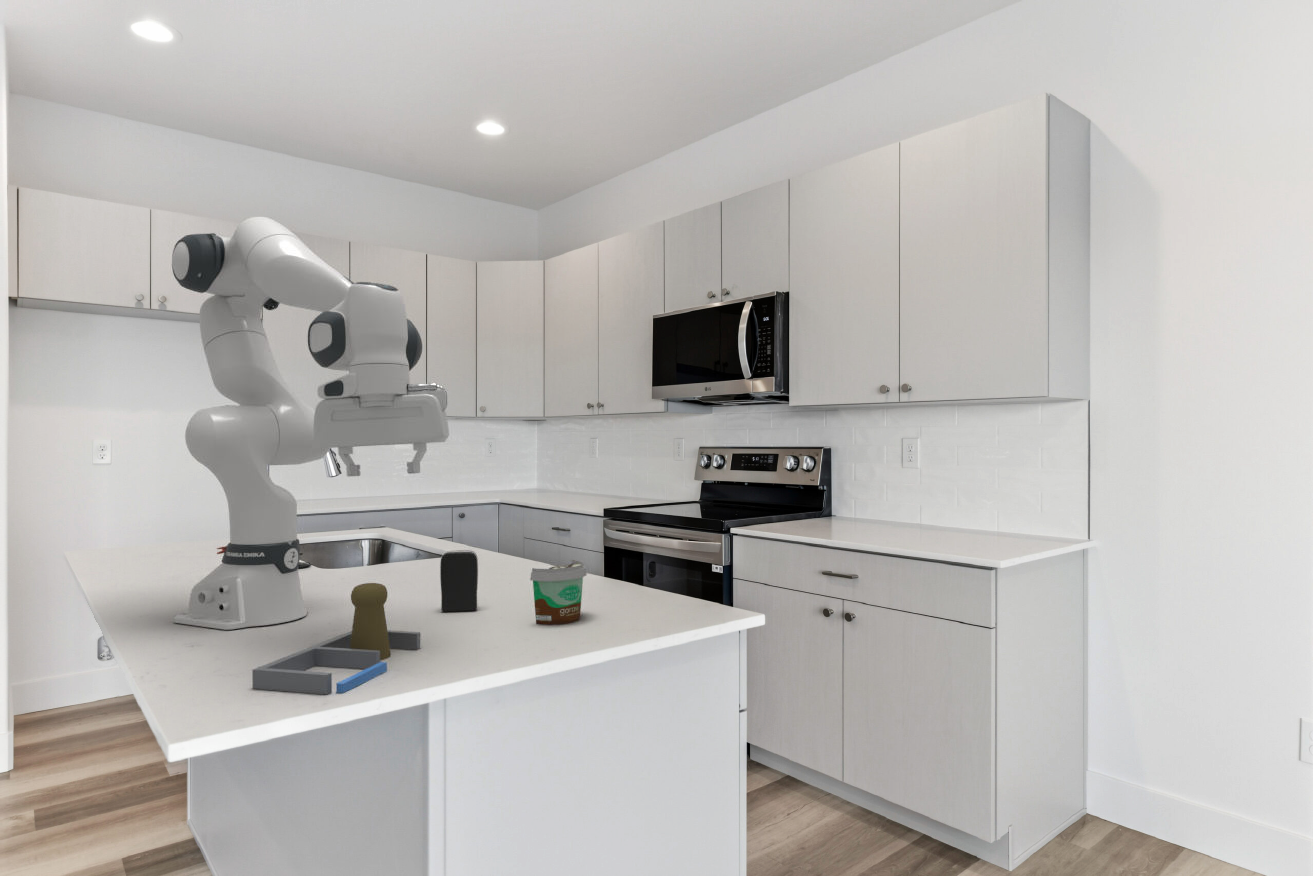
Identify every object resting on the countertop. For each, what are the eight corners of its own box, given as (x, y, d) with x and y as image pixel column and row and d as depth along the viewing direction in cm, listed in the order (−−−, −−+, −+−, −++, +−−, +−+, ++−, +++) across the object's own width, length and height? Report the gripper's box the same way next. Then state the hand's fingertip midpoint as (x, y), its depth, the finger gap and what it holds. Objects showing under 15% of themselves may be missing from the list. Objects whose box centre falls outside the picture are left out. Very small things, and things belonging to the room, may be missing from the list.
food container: (558, 630, 136) (557, 571, 136) (530, 625, 139) (530, 568, 139) (600, 616, 146) (600, 561, 146) (574, 612, 149) (573, 559, 149)
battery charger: (479, 607, 154) (479, 548, 154) (477, 611, 150) (477, 551, 150) (442, 608, 153) (442, 549, 153) (440, 613, 149) (439, 552, 149)
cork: (377, 663, 116) (376, 588, 116) (339, 661, 117) (339, 587, 117) (398, 652, 122) (398, 581, 122) (362, 650, 123) (362, 579, 123)
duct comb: (252, 688, 105) (252, 669, 105) (357, 644, 127) (357, 628, 127) (338, 695, 102) (338, 676, 102) (430, 648, 124) (430, 632, 124)
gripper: (452, 384, 126) (456, 471, 126) (325, 390, 127) (328, 477, 126) (440, 380, 120) (444, 472, 119) (306, 387, 120) (310, 478, 120)
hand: (383, 474), depth 123 cm, fingers open, 8 cm apart
